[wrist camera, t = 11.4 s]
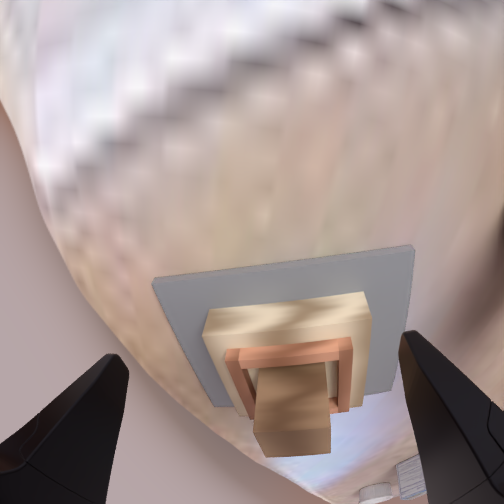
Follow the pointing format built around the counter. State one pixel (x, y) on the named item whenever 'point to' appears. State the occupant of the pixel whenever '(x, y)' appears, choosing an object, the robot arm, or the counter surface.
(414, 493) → the medicine box
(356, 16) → the counter surface
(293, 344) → the socket plinth
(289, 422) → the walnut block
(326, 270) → the grey base plate
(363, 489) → the ramekin
